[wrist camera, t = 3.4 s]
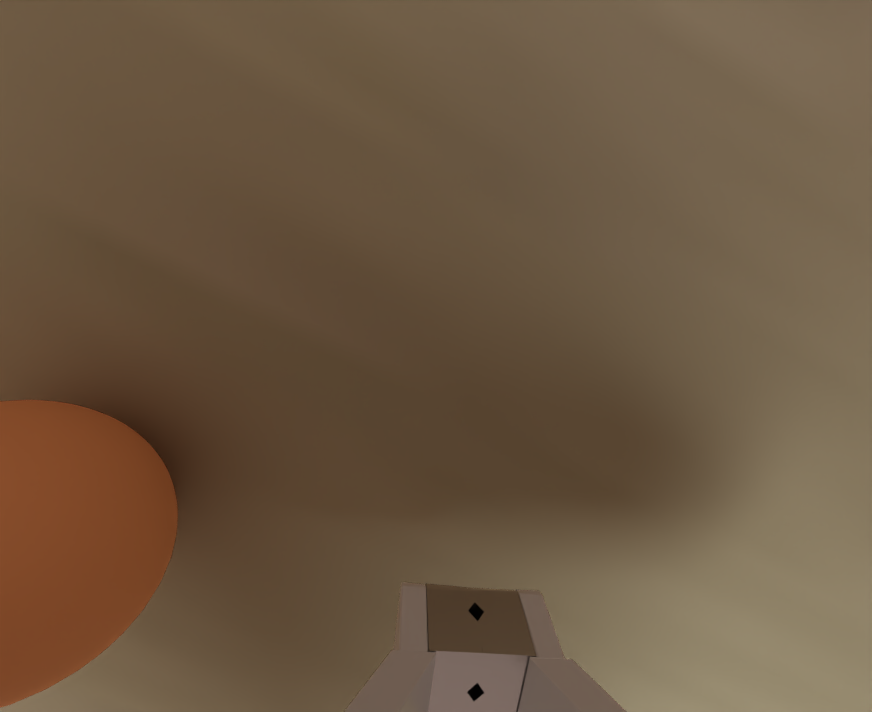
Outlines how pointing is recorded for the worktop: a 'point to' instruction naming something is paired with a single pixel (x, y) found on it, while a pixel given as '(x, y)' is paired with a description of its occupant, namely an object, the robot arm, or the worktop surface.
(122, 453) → the ball
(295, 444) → the worktop surface
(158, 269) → the worktop surface
